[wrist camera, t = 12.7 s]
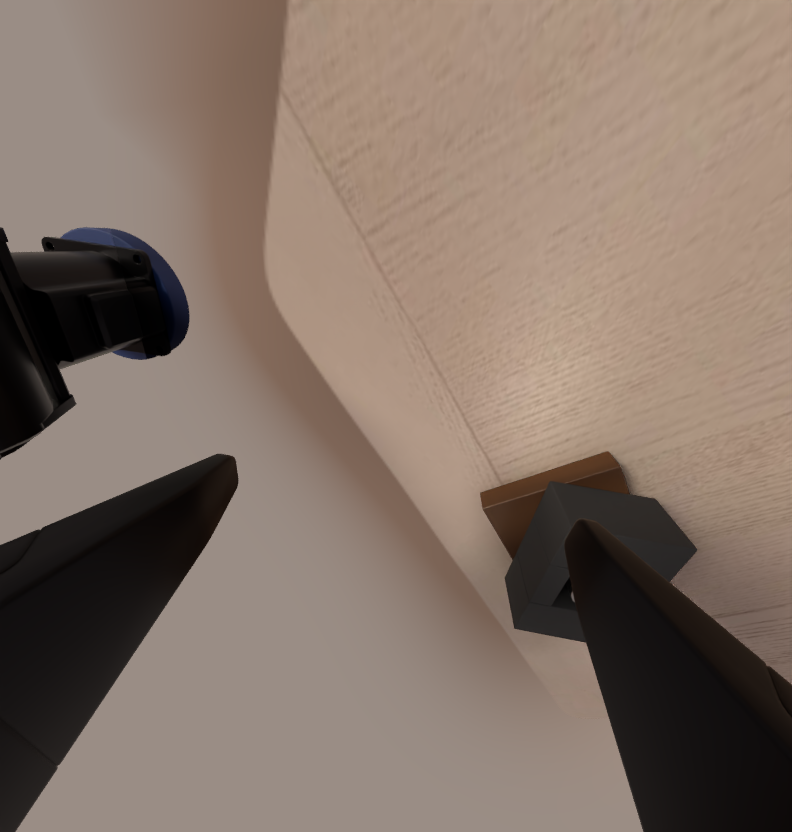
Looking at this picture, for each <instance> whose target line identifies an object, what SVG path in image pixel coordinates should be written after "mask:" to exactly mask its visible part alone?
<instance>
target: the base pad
mask: <svg viewBox="0 0 792 832" xmlns="http://www.w3.org/2000/svg"><path fill="white" fill-rule="evenodd" d="M550 481H554V482H560V483H566V484H571V485H577V486H583V487H589V488H595V489H601V490H607V491H612V492H618V493H624V494H629V491H628V488H627V485H626V482H625V479H624V476H623V473H622V470H621V467H620V465H619V464H618V463H617V461H616V460H615V459H614V458H613V456H612V455H611V454H610V453H609V452H604V453H601V454H598V455H595V456H592V457H589V458H586V459H583V460H580V461H577V462H574V463H571V464H568V465H564V466H561V467H558V468H555V469H552V470H549V471H546V472H543V473H540V474H537V475H534V476H531V477H528V478H525V479H522V480H518V481H515V482H512V483H509V484H506V485H503V486H500V487H497V488H494V489H491V490H488V491H485V492H482V493H480V495H481V501H482V508H483V510H484V512H485V514H486V515H487V517H488V519H489V520H490V522H491V524H492V526H493V527H494V529H495V531H496V532H497V534H498V536H499V538H500V539H501V541H502V543H503V544H504V546H505V548H506V549H507V551H508V553H509V555H510V556H511V558H512V560H513V559H514V557H515V555H516V552H517V551H518V548H519V546H520V544H521V542H522V540H523V538H524V536H525V533H526V531H527V529H528V527H529V525H530V523H531V520H532V518H533V517H534V514H535V512H536V510H537V508H538V505H539V503H540V501H541V499H542V497H543V495H544V493H545V490H546V488H547V486H548V484H549V482H550ZM566 585H567V588H568V591H569V594H570V596H571V599H572V601H573V602H574V603H575V601H574V596H573V591H572V586H571V581H570V577H569V578H568V580H567V582H566Z"/></svg>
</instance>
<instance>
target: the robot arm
mask: <svg viewBox="0 0 792 832" xmlns="http://www.w3.org/2000/svg"><path fill="white" fill-rule="evenodd" d="M6 242H8V239H7V237H6V234H5V232H4V230H3V228H1V227H0V459H1V458H2V457H4V456H6V455H8V454H10V453H13V452H15V451H16V450H17V449H19V448H21V447H22V446H24V445H25V444H26V443H27V442H29V441H30V440H31V439H33V438H34V437H36V436H37V435H39V434H40V433H41V432H42V431H43V430H44V429H45V428H47V427H48V426H49V425H51V424H52V423H53V422H54V421H56V420H57V419H58V418H59V417H61V416H62V415H63V414H65V413H66V412H67V411H68V410H70V409H71V408H72V407H74V406H75V405H76V402H75V400H74V397H73V395H71V394H69V391H68V389H67V386H66V384H65V382H64V379H63V377H62V374H61V372H60V369H62V368H66V367H68V366H71V365H75V364H77V363H80V362H83V361H86V360H89V359H92V358H95V357H98V356H101V355H104V354H107V353H110V352H113V351H116V350H125V351H132V352H138V353H144V354H150V355H156V356H166V355H168V354H170V353H171V346H170V341H169V337H168V333H167V329H166V324H165V320H164V316H163V312H162V308H161V303H160V299H159V295H158V291H157V286H156V282H155V278H154V274H153V269H152V265H151V261H150V258H149V256H148V255H147V253H146V252H144V251H143V250H139V249H132V248H126V247H119V246H112V245H105V244H98V243H91V242H84V241H77V240H70V239H63V238H56V237H44V238H43V239H42V246H43V249H44V251H45V252H15V253H10V251H9V249H8V246H7V244H6ZM53 246H54V247H53ZM138 256H139V257H140V259H141V262H140V261H139V259H138ZM161 347H162V348H163V350H162V349H161ZM237 486H238V473H237V466H236V461H235V458H234V457H233V456H230V455H224V454H216V455H213V456H211V457H208V458H206V459H204V460H201V461H199V462H197V463H194V464H192V465H190V466H187V467H185V468H182V469H180V470H178V471H175V472H173V473H171V474H168V475H166V476H164V477H161V478H159V479H156V480H154V481H152V482H149V483H147V484H145V485H142V486H140V487H137V488H135V489H133V490H130V491H128V492H126V493H123V494H121V495H119V496H116V497H114V498H112V499H109V500H107V501H104V502H102V503H100V504H97V505H95V506H93V507H90V508H88V509H85V510H83V511H81V512H78V513H76V514H73V515H71V516H69V517H66V518H64V519H62V520H59V521H57V522H55V523H52V524H50V525H47V526H45V527H43V528H42V529H41V530H36V531H33V532H31V533H28V534H26V535H24V536H21V537H19V538H17V539H14V540H12V541H10V542H7V543H5V544H2V545H0V832H15V831H16V830H17V828H18V827H19V825H20V824H21V822H22V821H23V819H24V818H25V816H26V815H27V813H28V812H29V810H30V809H31V807H32V806H33V804H34V803H35V801H36V800H37V798H38V797H39V795H40V794H41V792H42V791H43V789H44V788H45V786H46V785H47V784H48V782H49V781H50V779H51V778H52V776H53V774H54V773H55V772H56V770H57V766H58V765H59V764H60V763H61V762H62V760H63V759H64V757H65V756H66V754H67V753H68V751H69V750H70V748H71V747H72V745H73V744H74V742H75V741H76V739H77V738H78V736H79V735H80V733H81V732H82V730H83V729H84V727H85V726H86V725H87V723H88V722H89V720H90V719H91V717H92V716H93V714H94V713H95V711H96V709H97V708H98V707H99V705H100V704H101V702H102V700H103V699H104V698H105V696H106V694H107V693H108V692H109V690H110V688H111V687H112V686H113V684H114V683H115V681H116V679H117V678H118V677H119V675H120V673H121V672H122V671H123V669H124V668H125V666H126V665H127V663H128V662H129V660H130V659H131V657H132V656H133V654H134V653H135V651H136V650H137V648H138V647H139V645H140V644H141V642H142V641H143V639H144V637H145V636H146V635H147V633H148V632H149V630H150V629H151V627H152V626H153V624H154V623H155V621H156V620H157V618H158V617H159V615H160V614H161V612H162V611H163V609H164V608H165V606H166V605H167V603H168V602H169V600H170V599H171V597H172V596H173V594H174V593H175V591H176V590H177V588H178V587H179V585H180V584H181V582H182V581H183V579H184V577H185V576H186V575H187V573H188V572H189V570H190V569H191V567H192V566H193V564H194V563H195V561H196V560H197V558H198V557H199V555H200V554H201V552H202V550H203V549H204V548H205V546H206V544H207V543H208V541H209V540H210V538H211V536H212V534H213V533H214V531H215V529H216V527H217V525H218V523H219V521H220V519H221V517H222V515H223V514H224V512H225V510H226V508H227V506H228V504H229V502H230V500H231V498H232V497H233V495H234V492H235V491H236V489H237ZM564 550H565V555H566V560H567V565H568V570H569V576H570V581H571V586H572V591H573V596H574V601H575V605H576V609H577V613H578V617H579V620H580V623H581V627H582V630H583V633H584V637H585V640H586V643H587V647H588V650H589V653H590V657H591V660H592V663H593V666H594V670H595V673H596V676H597V680H598V683H599V686H600V690H601V693H602V696H603V700H604V703H605V706H606V709H607V713H608V716H609V719H610V723H611V726H612V729H613V733H614V735H615V739H616V742H617V746H618V749H619V752H620V756H621V759H622V762H623V766H624V769H625V772H626V776H627V779H628V782H629V786H630V789H631V792H632V795H633V799H634V802H635V805H636V809H637V812H638V815H639V819H640V822H641V825H642V829H643V832H792V685H791V684H790V683H789V682H788V681H787V680H785V679H784V678H783V677H782V676H781V675H779V674H778V673H777V672H776V671H775V670H773V669H772V668H771V667H769V666H766V664H765V662H764V661H763V660H761V659H760V658H759V657H758V656H757V655H755V654H754V653H753V652H752V651H751V650H750V649H748V648H747V647H746V646H745V645H744V644H742V643H741V642H740V641H739V640H738V639H736V638H735V637H734V636H733V635H732V634H730V633H729V632H728V631H727V630H726V629H724V628H723V627H722V626H721V625H720V624H719V623H717V622H716V621H715V620H714V619H713V618H711V617H710V616H709V615H708V614H707V613H705V612H704V611H703V610H702V609H701V608H699V607H698V606H697V605H696V604H695V603H694V602H692V601H691V600H690V599H689V598H688V597H686V596H685V595H684V594H683V593H682V592H680V591H679V590H678V589H677V588H676V587H674V586H673V585H672V584H671V583H670V582H668V581H667V580H666V579H665V578H664V577H663V576H661V575H660V574H659V573H658V572H657V571H655V570H654V569H653V568H652V567H651V566H649V565H648V564H647V563H646V562H645V561H643V560H642V559H641V558H640V557H639V556H637V555H636V554H635V553H634V552H633V551H632V550H630V549H629V548H628V547H627V546H626V545H624V544H623V543H622V542H621V541H620V540H618V539H617V538H616V537H615V536H614V535H612V534H611V533H610V532H609V531H608V530H607V529H605V528H604V527H603V526H602V525H601V524H599V523H598V522H596V521H593V520H588V519H582V518H581V519H578V520H577V521H576V522H575V523H574V525H573V527H572V529H571V530H570V532H569V534H568V535H567V537H566V539H565V542H564Z"/></svg>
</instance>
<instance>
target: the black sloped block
mask: <svg viewBox="0 0 792 832" xmlns="http://www.w3.org/2000/svg"><path fill="white" fill-rule="evenodd" d="M581 518H582V519H588V520H593V521H596V522H598V523H599V524H601V525H602V526H603V527H604V528H605V529H607V530H608V531H609V532H610V533H611V534H612V535H614V536H615V537H616V538H617V539H618V540H620V541H621V542H622V543H623V544H624V545H626V546H627V547H628V548H629V549H630V550H632V551H633V552H634V553H635V554H636V555H637V556H639V557H640V558H641V559H642V560H643V561H645V562H646V563H647V564H648V565H649V566H651V567H652V568H653V569H654V570H655V571H657V572H658V573H659V574H660V575H661V576H663V577H664V578H665V579H666V580H667V581H668V582H670V581H671V580H672V578H673V577H674V576H675V575H676V574H677V573H678V572H679V571H680V569H681V568H682V567H683V566H684V565H685V564H686V563H687V562H688V560H689V559H690V558H691V557H692V556H693V555H694V554H695V552H696V551H697V548H696V547H695V546H694V545H693V544H692V542H691V541H690V540H689V539H688V537H687V536H686V535H685V534H684V533H683V531H682V530H681V529H680V528H679V527H678V525H677V524H676V523H675V522H674V521H673V519H672V518H671V517H670V516H669V515H668V513H667V512H666V511H665V510H664V509H663V507H662V506H661V505H660V504H659V503H658V501H657V500H656V499H653V498H648V497H642V496H636V495H630V494H624V493H618V492H612V491H607V490H601V489H595V488H589V487H583V486H577V485H571V484H566V483H560V482H554V481H550V482H549V484H548V486H547V488H546V490H545V493H544V495H543V497H542V499H541V501H540V503H539V505H538V508H537V510H536V512H535V514H534V517H533V518H532V520H531V523H530V525H529V527H528V529H527V531H526V533H525V536H524V538H523V540H522V542H521V544H520V546H519V548H518V551H517V552H516V555H515V557H514V559H513V561H512V563H511V565H510V568H509V570H508V572H507V574H506V576H505V582H506V587H507V592H508V597H509V603H510V608H511V613H512V618H513V624H514V628H515V629H519V630H524V631H529V632H534V633H539V634H544V635H549V636H555V637H560V638H565V639H570V640H575V641H580V642H585V643H586V640H585V637H584V633H583V630H582V627H581V623H580V620H579V617H578V613H577V609H576V605H575V603H574V602H573V601H572V599H571V596H570V594H569V591H568V588H567V585H566V582H567V580H568V578H569V577H570V576H569V570H568V565H567V560H566V555H565V550H564V542H565V539H566V537H567V535H568V534H569V532H570V530H571V529H572V527H573V525H574V523H575V522H576V521H577V520H578V519H581Z"/></svg>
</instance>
